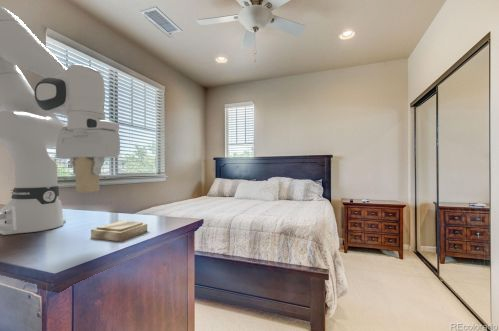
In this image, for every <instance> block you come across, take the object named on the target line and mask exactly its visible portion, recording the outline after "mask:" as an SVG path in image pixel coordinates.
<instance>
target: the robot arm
mask: <svg viewBox="0 0 499 331" xmlns="http://www.w3.org/2000/svg"><path fill="white" fill-rule="evenodd" d="M19 67H20V68H22V69H23V70H26V71H29V72H32V73H34V74H36V75H39V76H42V77H43V79H41V80H39V81H38V82H37V83H36V85H35V88H34V89H33V88H32V86H31V84H30V83H29V81H28V80H27V78H26V77H25V75H24V74H23V73H22V71H21V69H20V68H19ZM105 102H106V91H105V81H104V76H103V74H102V73H101V72H100V71H99V70H97V69H95V68H93V67H91V66H88V65H84V64H80V63H72V64H70V65H69V66H68V67H67V66H66V65H65V64H63V63H62V62H61V61H60V60H59V59H58V58H57V57H56V56H55V55H54V54H53V53H52V52H51V51H50V50H49V49H48V48H47V47H46V46H45V45H44V44H43V43H42V42H41V41H40V40H39V39H38V38H37V36H35V34H34V33H33V32H32V31H31V30H30V29H29V28H28V27H27V25H26V24H24V22H23V21H22V20H21V19H20V18H19V17H18V16H16V15H15V14H14V13H13V12H11V11H10V10H9V9H7V8H5V7H3V6H1V5H0V110H2V111H0V142H1V143H3V145H4V146H5V147H6V149H7V150H8V153H9V155H10V156H11V159H12V161H13V162H12V163H13V166H14V177H15V178H14V181H15V182H14V184H15V186H14V188H13V189H10V191H12V192H10V194H11V197H10V198H11V199H10V200H9V202H8V203H7V204H5V205H4V206H3V207H2V208H0V235H3V236H5V235H6V236H7V235H14V234H16V235H17V234H24V233H25V234H26V233H34V232H42V231H48V230H51V229H52V230H53V229H56V228H59V227H61V226H63V225H64V224H65V223H66V222H67V220H66V218H64V213H63V206H62V201H61V200H60V199H59V196H60V186H59V185H58V165H57V163H56V162H55V161H54V160H53V159H52V158H51V156H50V155H49V153H48V150H47V148H49V149H55V155H56V157H57V158H58V159H69V163H70V165H71V167H72V174H74V175H75V161H76V160H77V159H78V158H79V157H94V162H95V165H94V167H93V168H91V171H92V172H91V174H94V175H97V174H99V175H101V174H102V168H103V165H104V164H105V158H110V159H111V158H118V157H119V155H120V152H121V137H120V134H119V130H120V124H119V123H117V122H115V121H111V120H108V119H106V113H105V110H104V109H105ZM57 115H61V116H66V119H67V120H66V123H65V122H64V121H63V120H61V119H60V118H59V117H58V116H57Z"/></svg>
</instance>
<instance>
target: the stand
mask: <svg viewBox="0 0 499 331" xmlns="http://www.w3.org/2000/svg"><path fill="white" fill-rule="evenodd" d="M146 231H147V232H148V223H143V222H139V221H131V220H128V221H127V220H118V221H115V222H111V223H107V224H103V225H99V226H96V227H95V228H92V229H91V230H90V239H97V240H98V239H99V240H108V241H109V240H110V241H114V242H115V241H116V242H122V241H125V240H127V239H130V238H133V237H135V236H138V235H141V234H144V233H147V232H146Z"/></svg>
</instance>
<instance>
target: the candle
mask: <svg viewBox="0 0 499 331" xmlns="http://www.w3.org/2000/svg"><path fill="white" fill-rule="evenodd" d="M94 165H95V162H94V157H79V158H78V159H77V160H76V161H75V174H74V175H75V192H76V193H93V192H99V191H100V174H97V175H94V174H91V172H92V171H91V168H93V167H94Z"/></svg>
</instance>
